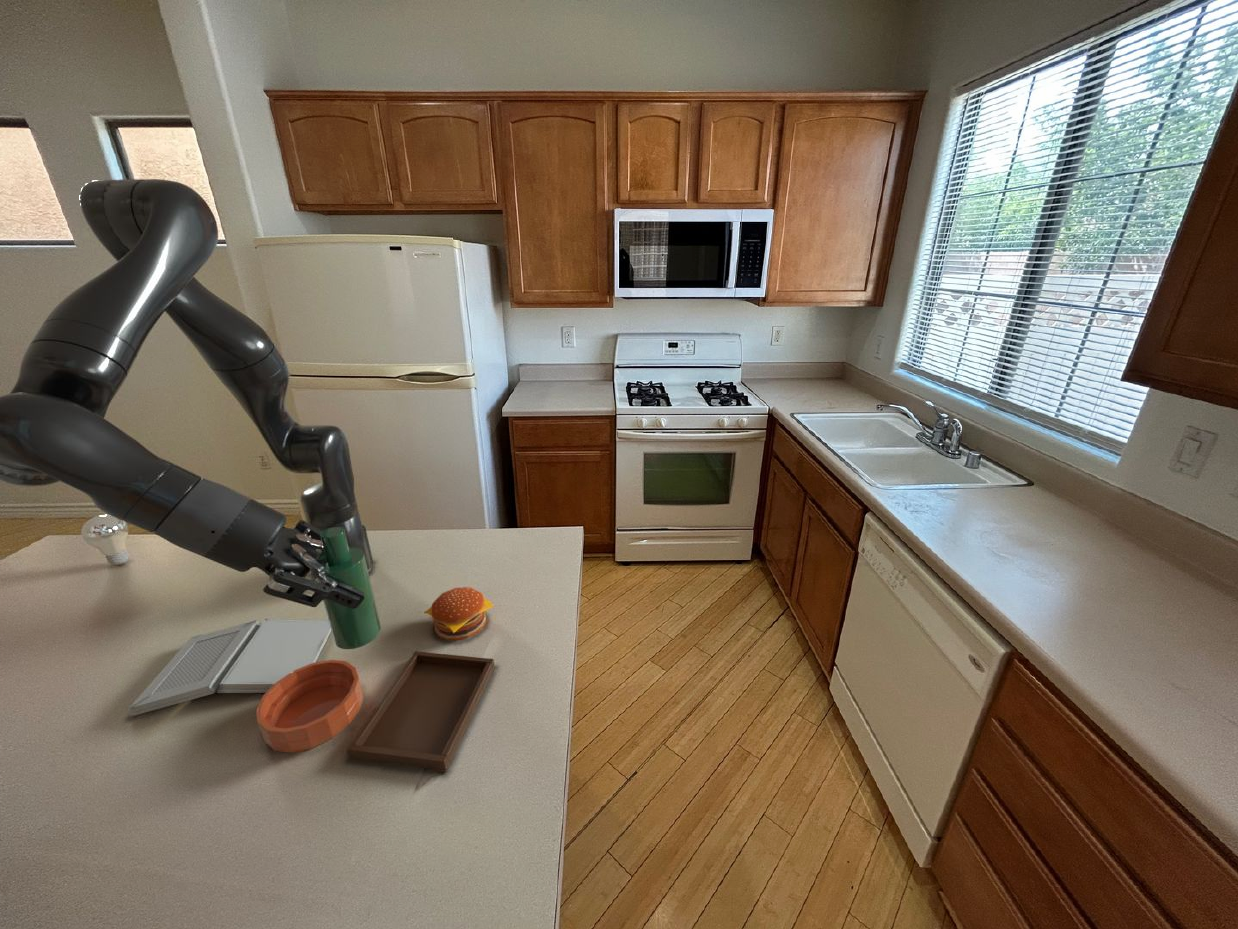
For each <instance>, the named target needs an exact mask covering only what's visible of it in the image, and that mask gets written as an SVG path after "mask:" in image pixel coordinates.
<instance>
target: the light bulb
mask: <svg viewBox="0 0 1238 929" xmlns="http://www.w3.org/2000/svg"><path fill="white" fill-rule="evenodd" d="M129 533H130V528H129V524H128V523H127V522H124V521H123V520H120V519H117V518H115V517H113V516H111V515H109V514H100V515H96V516H94V517H91V518H89V519H88V520H87V521H86V522H85V523H83V525H82V527H81V530H80V535H81V539H82V540H83V542H85V543H86V544H87V545H89V546H91V547H93V548H95V549H97V550H98V551H99V552H100V553H101V554H102V555H103V556H104V557H105V559H106V561H107V563H108V564H110V565H113V566H122V565H124V564H126V562H127V561H128V560H129V558H130V555H129V553H128V551H127V543H126V542H127V541H126V540H127V538H128V536H129Z"/></svg>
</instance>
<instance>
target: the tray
mask: <svg viewBox="0 0 1238 929" xmlns="http://www.w3.org/2000/svg"><path fill="white" fill-rule="evenodd" d="M495 669H496V666H495V659H494V658H486V657H477V656H467V655H456V654H449V653H448V654H445V653H437V652H427V651H416V650H415V651H414V652H413V654H412V655H411V656H410V658H409V659H408V661H407V662H406V663H405V665H404V666H403V668H402V669H401V671H400V672H399V674H398V675H397V676H396V678H395V679H394V681H393V682H392V684H391V685H390V686H389V688H388V689H387V691H386V692H385V694H384V695H383V696H382V698H381V699H380V701H379V702H378V704H377V705H376V706H375V708H374V709H373V711H372V712H371V714H370V715H369V716H368V718H367V719H366V721H365V723H364V724H363V726H361V728H360V729H359V731H358V732H357V734H356V735H355V737H354V738H353V739H352V741H351V742H350V743H349V745H348V747H347V748H346V753H347V756H348V758H349V759H358V760H364V761H374V762H380V763H388V764H389V763H390V764H397V765H405V766H412V767H421V768H424V771H432V772H439V773H447V772H448V770H449V767H450V765H451V764H452V761H453V759H454V757H455V755H456V753H457V750H458V748H459V746H460V745H461V743H462V740H463V737H464V736H465V733H466V731H467V729H468V727H469V724H470V723H471V720H472V718H473V716H474V714H475V712H476V710H477V708H478V705H479V703H480V701H481V699H482V697H483V695H484V693H485V691H486V689H487V686H488V684H489V682H490V680H491V679H492V678H491V677H492V675H493V673H494V671H495Z"/></svg>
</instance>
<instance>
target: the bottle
mask: <svg viewBox="0 0 1238 929" xmlns="http://www.w3.org/2000/svg"><path fill="white" fill-rule="evenodd" d="M320 537H321V541H322V544H323V548H324V552H325V554H324V555H323V556H321V557H320V558H318V559H317V560H316V561H317V562H319V563H320V564H321V565H323V566H324V568H325V569H324V571H325V573H326V574H327V575H329V576H331V577H332V578H333V579H335V580H336V581H337V582H341V583H344V584H346V585H348V586H350V587H353V588H355V589H357V590H359V591H362V592H364V593H365V598H364V600H363V601H362V602H361V604H360V605H359V606H358V607H357V608H355V609H351V608H348V607H346V606H344V605H341V604H338V603H336V602H334V601H331V600H329V599H325V600H323V601H322V602H323V605H324V610H325V613H326V617H327V621H329V624H330V628H331V634H332V638H333V642H334V645H335V646H336V647H337V648H339V649H340V650H341V649H342V650H354V649H359V648H361V647H364V646H366V645H368V644H370V643H371V642H373V641H374V640H375V639H376V638H377V637H378V636H379V634H380V633H381V630H382V627H381V622H380V621H381V620H380V616H379V613H378V608H377V604H376V599H375V595H374V591H373V587H372V583H371V578H370V573H368V569H367V565H366V560H365V556H364V552H363V551H362V550H360V549H357V548H349V547H348V543H347V539H346V535H345V531H344V528H342V527H332V528H329V529H326V530H324V531H323V532H321V534H320ZM316 582H318V583H321V584H324V583H323V582H321V581H320V580H319V579H316Z"/></svg>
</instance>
